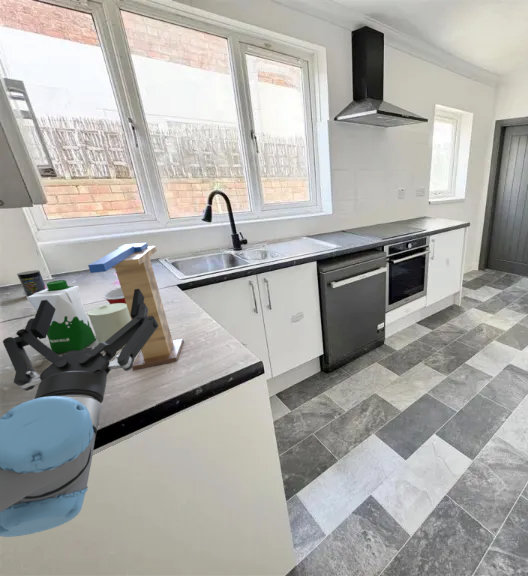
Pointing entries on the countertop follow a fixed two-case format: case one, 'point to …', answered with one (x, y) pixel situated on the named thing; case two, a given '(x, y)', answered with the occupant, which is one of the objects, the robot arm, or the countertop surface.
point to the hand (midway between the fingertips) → (96, 298)
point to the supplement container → (31, 282)
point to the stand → (141, 276)
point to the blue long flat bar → (116, 257)
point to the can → (109, 320)
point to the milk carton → (65, 317)
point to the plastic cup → (115, 296)
